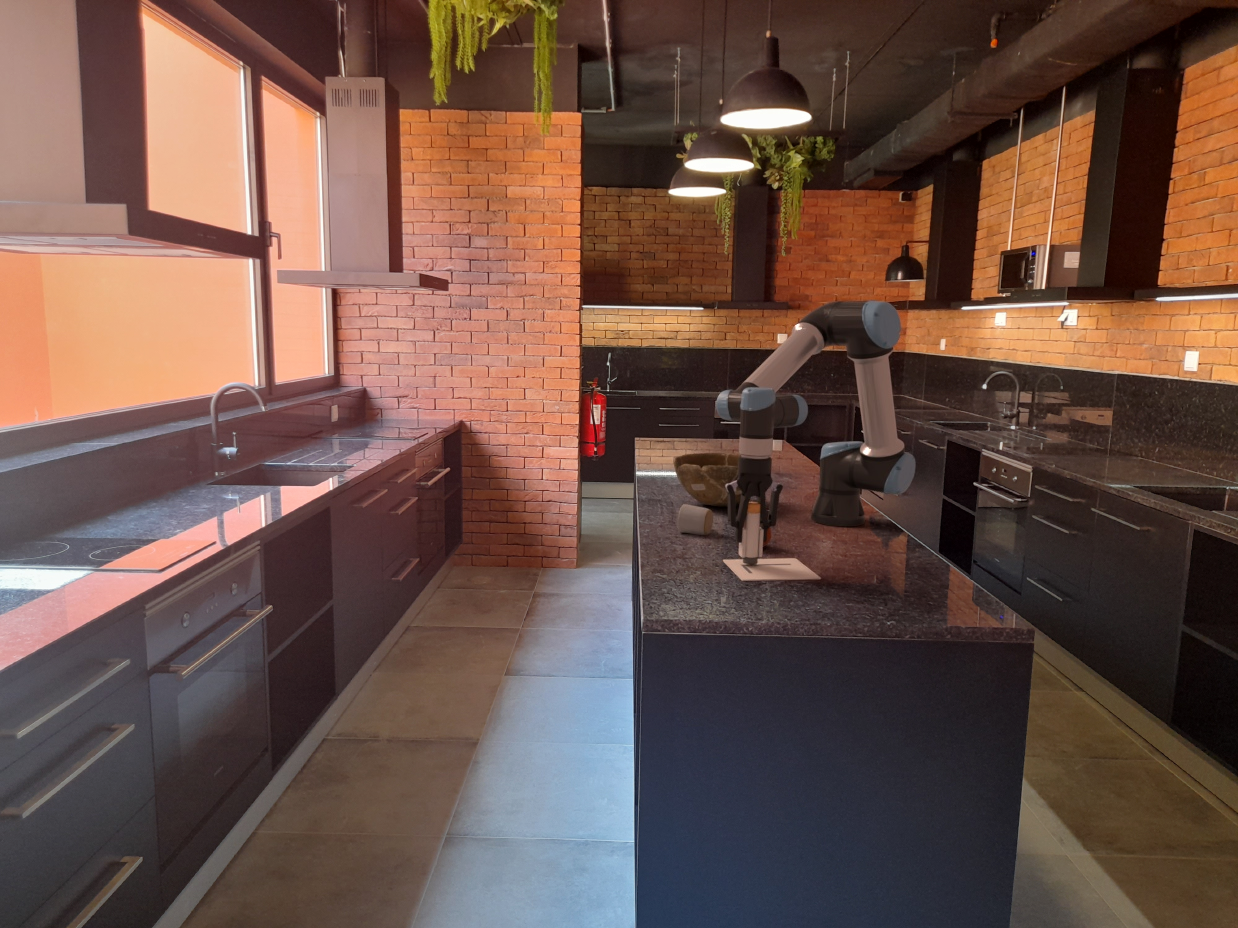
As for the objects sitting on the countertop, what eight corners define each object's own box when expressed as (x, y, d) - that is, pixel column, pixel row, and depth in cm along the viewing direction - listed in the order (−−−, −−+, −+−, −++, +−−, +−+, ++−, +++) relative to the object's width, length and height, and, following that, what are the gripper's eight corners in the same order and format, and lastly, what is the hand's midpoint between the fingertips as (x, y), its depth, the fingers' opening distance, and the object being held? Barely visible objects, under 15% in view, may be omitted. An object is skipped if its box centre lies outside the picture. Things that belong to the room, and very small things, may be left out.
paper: (795, 559, 203) (795, 557, 203) (820, 579, 187) (820, 577, 187) (722, 560, 200) (722, 559, 200) (742, 580, 185) (742, 579, 185)
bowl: (699, 518, 244) (701, 467, 242) (658, 500, 269) (659, 453, 266) (779, 511, 255) (782, 463, 253) (733, 495, 280) (735, 450, 277)
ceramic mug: (706, 538, 222) (707, 509, 220) (676, 534, 225) (677, 506, 223) (716, 530, 231) (718, 502, 230) (688, 527, 234) (689, 499, 233)
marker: (755, 560, 198) (758, 501, 196) (759, 564, 194) (762, 504, 192) (740, 560, 197) (743, 501, 195) (745, 564, 194) (747, 504, 192)
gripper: (784, 453, 197) (779, 550, 201) (715, 453, 194) (711, 552, 198) (795, 458, 189) (789, 559, 193) (724, 458, 187) (720, 560, 191)
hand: (750, 555), depth 196 cm, fingers closed on marker, 3 cm apart
